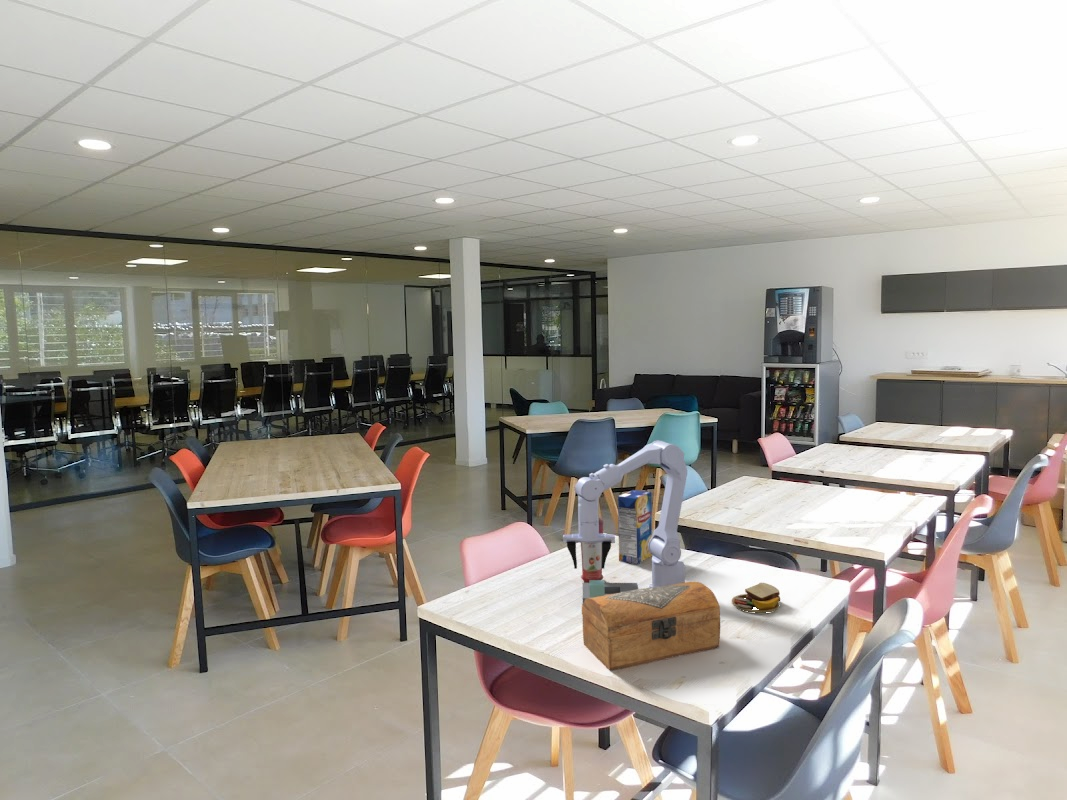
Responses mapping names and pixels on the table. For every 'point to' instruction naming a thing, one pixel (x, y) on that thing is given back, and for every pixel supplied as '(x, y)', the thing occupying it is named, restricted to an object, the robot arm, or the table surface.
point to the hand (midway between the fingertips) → (589, 567)
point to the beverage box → (634, 526)
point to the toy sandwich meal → (758, 599)
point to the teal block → (596, 588)
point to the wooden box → (651, 624)
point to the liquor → (592, 559)
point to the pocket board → (610, 588)
